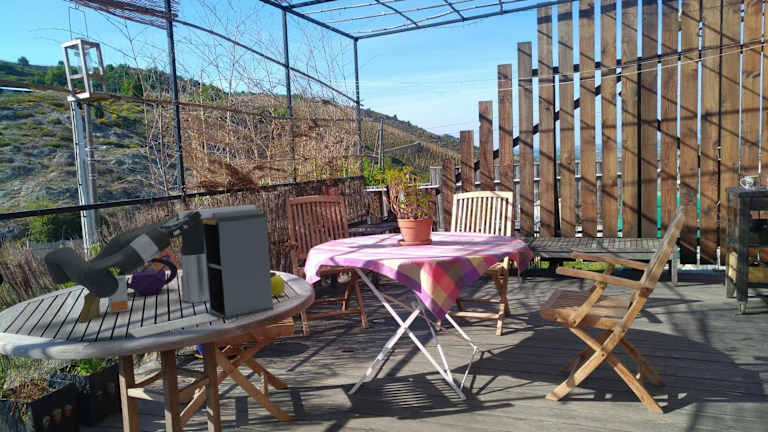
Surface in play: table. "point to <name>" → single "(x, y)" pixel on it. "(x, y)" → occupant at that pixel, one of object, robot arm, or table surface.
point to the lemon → (277, 285)
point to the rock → (90, 308)
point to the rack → (237, 263)
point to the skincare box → (119, 297)
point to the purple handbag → (151, 278)
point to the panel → (215, 211)
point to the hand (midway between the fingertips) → (194, 212)
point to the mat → (171, 325)
